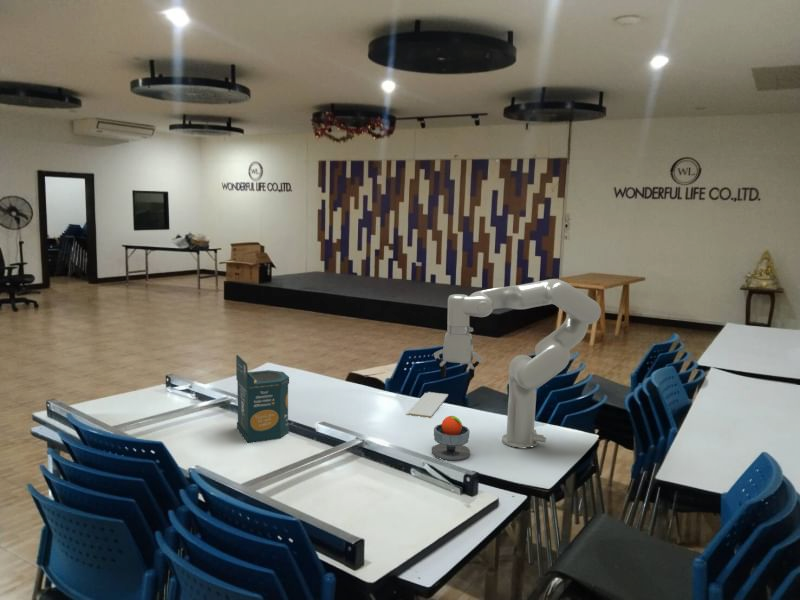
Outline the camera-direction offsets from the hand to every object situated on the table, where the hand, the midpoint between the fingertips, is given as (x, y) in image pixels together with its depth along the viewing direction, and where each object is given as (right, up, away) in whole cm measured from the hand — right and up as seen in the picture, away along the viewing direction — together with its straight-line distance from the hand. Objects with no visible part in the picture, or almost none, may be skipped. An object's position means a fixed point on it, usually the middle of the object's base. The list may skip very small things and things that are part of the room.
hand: (457, 378), depth 215 cm
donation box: (-69, -21, +7) cm, 73 cm away
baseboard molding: (-9, -18, +44) cm, 49 cm away
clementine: (-2, -19, -8) cm, 21 cm away
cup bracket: (-3, -25, -7) cm, 26 cm away
